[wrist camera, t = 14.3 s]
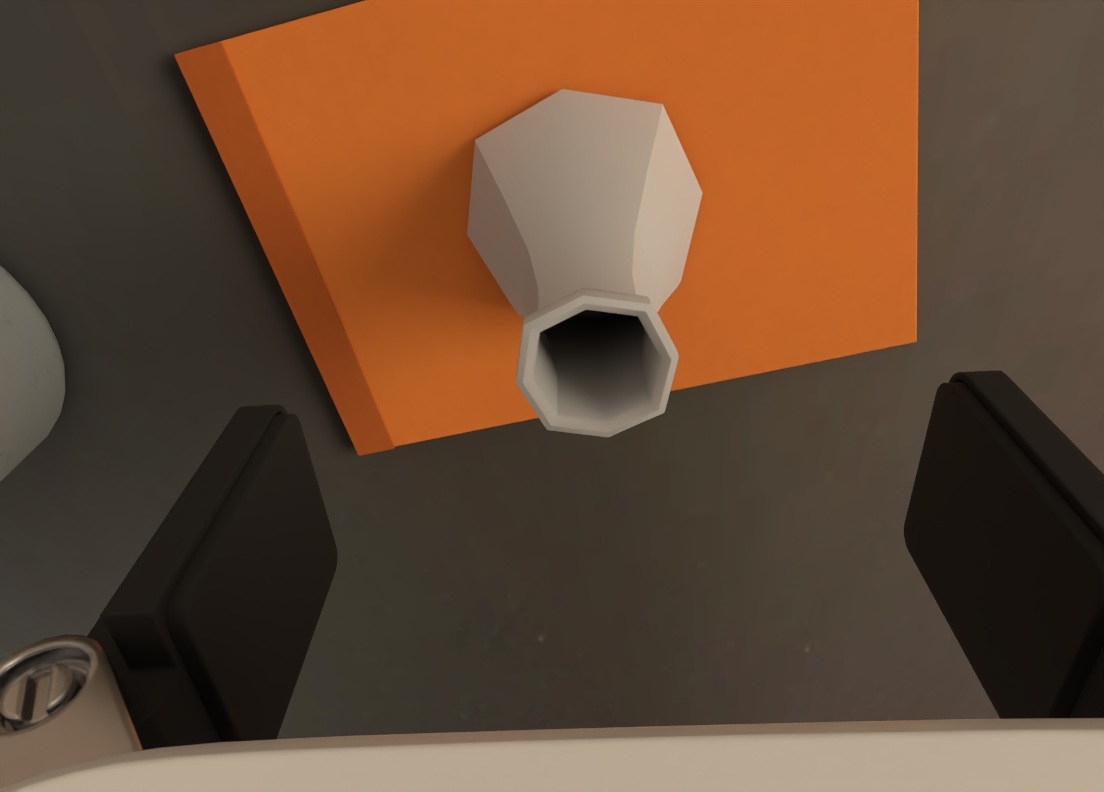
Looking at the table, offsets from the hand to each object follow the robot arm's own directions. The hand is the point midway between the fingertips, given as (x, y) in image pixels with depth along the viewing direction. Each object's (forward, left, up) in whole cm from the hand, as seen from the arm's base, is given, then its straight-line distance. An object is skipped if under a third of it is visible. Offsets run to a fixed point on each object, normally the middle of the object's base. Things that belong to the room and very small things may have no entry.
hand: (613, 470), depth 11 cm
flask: (0, 0, -14) cm, 14 cm away
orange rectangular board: (0, 0, -14) cm, 14 cm away
